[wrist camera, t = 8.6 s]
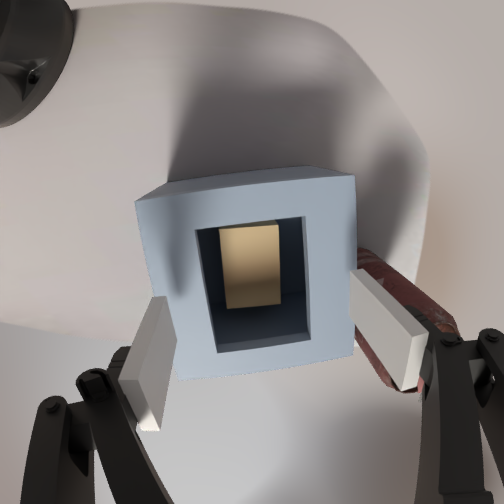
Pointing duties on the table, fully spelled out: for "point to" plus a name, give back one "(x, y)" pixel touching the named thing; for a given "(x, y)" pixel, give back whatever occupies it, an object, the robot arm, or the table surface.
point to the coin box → (291, 268)
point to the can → (405, 296)
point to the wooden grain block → (251, 264)
